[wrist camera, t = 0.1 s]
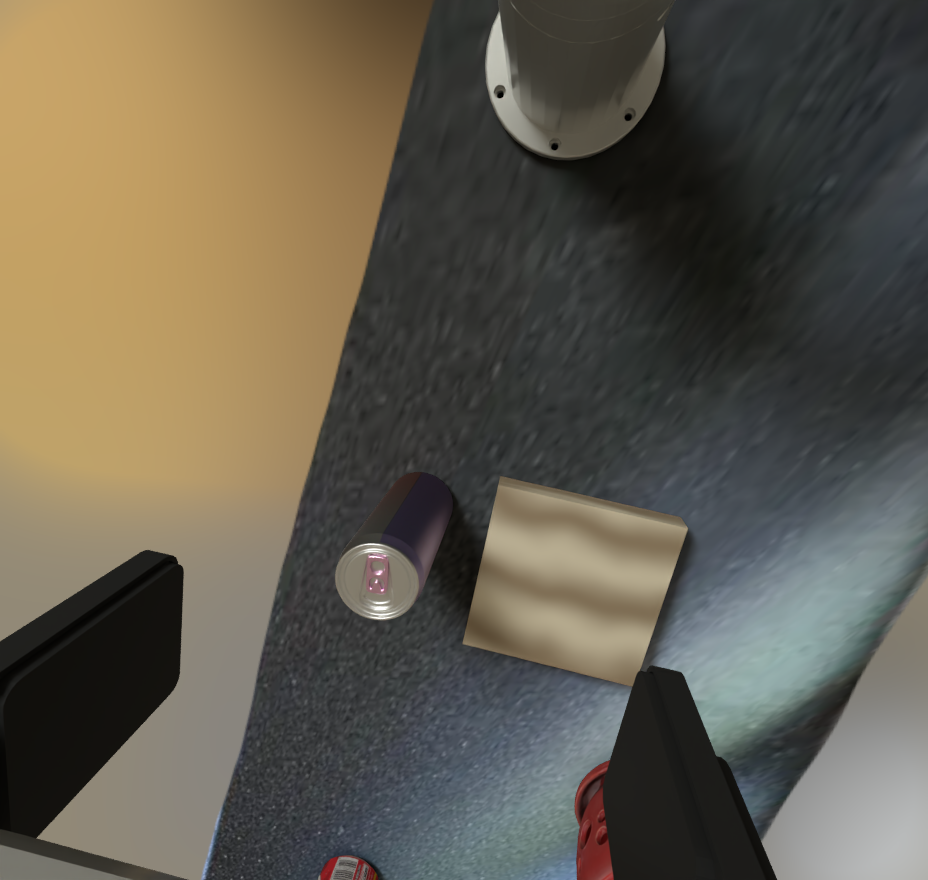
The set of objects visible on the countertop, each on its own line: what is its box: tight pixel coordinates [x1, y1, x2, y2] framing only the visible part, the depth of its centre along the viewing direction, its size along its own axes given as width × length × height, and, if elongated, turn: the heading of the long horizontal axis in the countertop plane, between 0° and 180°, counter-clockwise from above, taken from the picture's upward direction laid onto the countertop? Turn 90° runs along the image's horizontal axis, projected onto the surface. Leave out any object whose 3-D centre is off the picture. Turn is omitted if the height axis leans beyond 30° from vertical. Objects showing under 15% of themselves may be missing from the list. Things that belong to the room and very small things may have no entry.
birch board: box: [463, 476, 688, 687], centre depth 48 cm, size 16×16×2 cm
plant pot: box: [575, 760, 614, 880], centre depth 49 cm, size 13×13×12 cm
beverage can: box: [335, 472, 453, 620], centre depth 42 cm, size 6×6×15 cm
